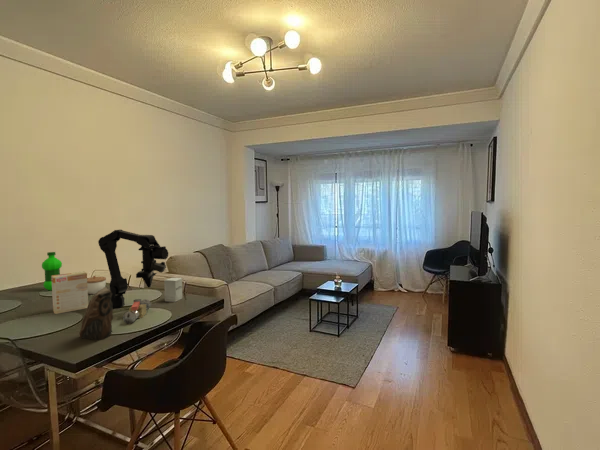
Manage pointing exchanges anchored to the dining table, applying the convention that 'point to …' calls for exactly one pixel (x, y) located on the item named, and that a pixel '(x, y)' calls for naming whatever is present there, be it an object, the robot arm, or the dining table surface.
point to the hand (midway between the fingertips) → (149, 287)
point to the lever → (136, 304)
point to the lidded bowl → (95, 284)
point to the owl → (98, 316)
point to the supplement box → (173, 289)
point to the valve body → (136, 312)
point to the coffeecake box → (69, 292)
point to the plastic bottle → (51, 269)
